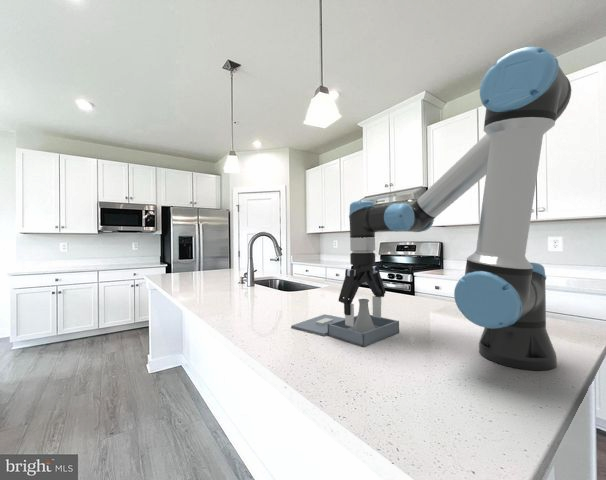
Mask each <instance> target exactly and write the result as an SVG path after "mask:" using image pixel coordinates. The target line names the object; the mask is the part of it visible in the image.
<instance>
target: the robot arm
mask: <svg viewBox="0 0 606 480" xmlns="http://www.w3.org/2000/svg"><path fill="white" fill-rule="evenodd" d="M571 97H572V86H571V81H570V80H569V78H568V77H567V76H566V74H565V73H564V71H563V70H562V68H561V67H560V65H559V61H558V59H557V57H556V56H555V55H554V54H553V53H551V52H550V51H549V50H547V49H546V48H543V47H540V46H526V47H525V46H524V47H521V48H518V49H515V50H513V51H510V52H508V53H506V54H505V55H503V56H502V57H500V58H499V59H497V61H496V62H495V63H494V64H493V66H491V67H490V68H489V69H488V70H487V71H486V72H485V74H484V76H483V77H482V81H481V82H480V86H479V98H480V100H481V101H480V102H481V104H482V105H483V107H484V108H485V116H484V124H483V132H484V133H485V135H484V136H482V137H481V138H480V139H479V140H478V141H477V142H476V143H475V144H474V145H473V146H472V147H471V148H470V149H469V150H468V151H467V152H466V153H464V155H463V156H462V157H460V158H459V160H458V161H456V162H455V163H454V164H453V165H452V166H451V167H450V168H448V170H447V171H446V172H444V173H443V175H441V176H440V177H439V178H438V180H437V181H435V183H433V184H432V185H431V186H430V187H429V188H428V189H427V190H426V191H425V192H424V193H423V194H422V195H420V197H418V198H417V200H415V201H414V202H413V203H412V204H411V205H410V204H409V203H405V202H404V203H397V202H396V203H393V204H387V205H386V204H385V205H380V206H379V205H378V206H375V203H374V202H373V201H372V200H357V201H352V202H351V203H350V205H349V215H348V218H349V219H348V221H349V241H350V242H349V243H350V247H349V248H350V250H349V251H350V256H349V258H350V265H352V269H351V268H346V269H345V272H344V273H345V274H344V275H345V276H344V279H343V282H342V286H341V289H340V294H339V297H338V302H340V303H341V304H343V314H344V318H345V325H347V326H351V327H354V316H355V305H354V304H355V303H353V300H354V299H355V297H356V294H357V292H358V290H359V288H360V286H361V285H363V284H364V283H366V284H367V285H368V287H369V289H370V290H371V292H372V295H374V296H372V297H371V298H372V300H371V301H372V315H373V317H377V318H381V317H382V298H384V297H385V294H386V289H385V285H384V283H383V280H382V276H381V273H380V266H377V265H375V264H376V253H375V252H374V251H375V250H376V238H375V237H376V233H379V232H380V233H382V232H383V233H384V232H385V233H386V232H387V233H389V232H393V233H394V232H397V233H398V232H411V233H412V232H413V233H420V232H421V233H422V232H426V231H428V230H429V229H430V228H432V226H433V224H434V222H435V220H434V219H436V218H437V217H438V216H439V215H440V214H441V213H443V212H444V211H445V210H447V208H449V207H450V206H451V205H453V203H455V202H456V201H457V200H458V199H460V198H461V197H462V196H463V195H464V194H465V193H466V192H468V190H470V189H471V188H472V187H474V185H476V184H477V183H478V182H480V181H481V180H482V179H483V178H484V177H485V181H484V188H483V189H484V190H483V197H482V202H481V203H482V204H481V212H480V218H479V219H480V220H479V226H478V233H477V240H476V249H475V251H474V252H473V253H472V254H470V255H469V256H468V257H466V263H465V264H466V265H465V271H464V275H463V276H462V277H460V278H459V280H458V281H457V282H456V284H455V287H454V290H453V291H454V293H453V294H454V302H455V305H456V307H457V309H458V310H459V311H460V312H461V314H462V316H464V318H465V319H467V320H468V322H471V323H473V324H475V326H476V325H477V326H478V327H480V328H481V327H482V328H483V331H482V334H481V336H480V338H479V343H478V351H479V353H480V355H481V356H482V357H484V358H485V359H488V360H489V361H492V362H494V363H496V364H499V365H503V366H506V367H510V368H511V367H512V368H515V369H521V370H528V371H529V370H530V371H548V370H552V369H554V368H556V367H557V359H558V358H557V354H556V351H555V348H554V346H553V343H552V340H551V339H550V336H549V333H548V331H547V319H546V318H547V315H546V314H547V313H546V312H547V311H546V310H547V309H546V307H547V305H546V304H547V302H546V299H547V298H546V294H547V293H546V280H547V275H546V269H545V267H544V265H543V264H541V263H536V262H530V261H529V259H527V257H526V253H527V247H528V240H529V239H528V238H529V232H530V225H531V219H532V211H533V206H534V205H533V204H534V198H535V192H536V186H537V178H538V171H539V167H540V158H541V151H542V144H543V137H544V135H545V134H546V133H547V132H548V131H550V130H551V129H553V127H555V125H556V121H557V120H558V119H559V118H560V117H561V116H562V115H563V113H564V112H565V110H566V109H567V107H568V105H569V103H570V99H571Z"/></svg>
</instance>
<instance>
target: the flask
mask: <svg viewBox="0 0 606 480" xmlns="http://www.w3.org/2000/svg"><path fill="white" fill-rule="evenodd" d="M369 302H370V300H369V298H358V304H359V307H358V312H357V315H356V316H357V319H356V322H355V324H354V327H353V331H356V332H360V333H364V332H367V331H370V330H373V329H375V327H374V324H373V322H372V319H371V316H370V315H371V313H370V309H369Z"/></svg>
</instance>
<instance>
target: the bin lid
mask: <svg viewBox="0 0 606 480" xmlns="http://www.w3.org/2000/svg"><path fill="white" fill-rule="evenodd" d="M344 319H345V317H341V316H336V315H330V314H325V313H324V314H322V315H319V316H315V317H312V318H310V319H309V318H308V319H306V320H304V321H301V322H298V323H295V324H292V325H291V326H290V328H291V329H294V330H298V331H301V332H305V333H309V334H314V335H318V336H321V337H326V336H328V324H330V323H333V322H337V321H340V320H344Z"/></svg>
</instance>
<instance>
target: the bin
mask: <svg viewBox="0 0 606 480" xmlns="http://www.w3.org/2000/svg"><path fill="white" fill-rule="evenodd" d="M370 316H371V319H372V322H373V324H374V327H375V329H373V330H370V331H367V332H364V333H360V332H356V331H353V327H351V326H347V325H345V319H344V320H340V321H337V322H333V323H330V324H328V335H327V337H330V338H332V339H333V338H334V339H337V340H340V341H343V342H347V343H349V344H352V345H355V346H358V347H362V348H364V347H367V346H369V345H371V344H374V343H376V342H379V341H381V340H384V339H386V338H388V337H391V336H393V335H397V334H399V333H400V320H396V319H391V318H387V317H382V316H381V318H377V317H373V314H370ZM356 319H357V315H354V324H355V322H356Z"/></svg>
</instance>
